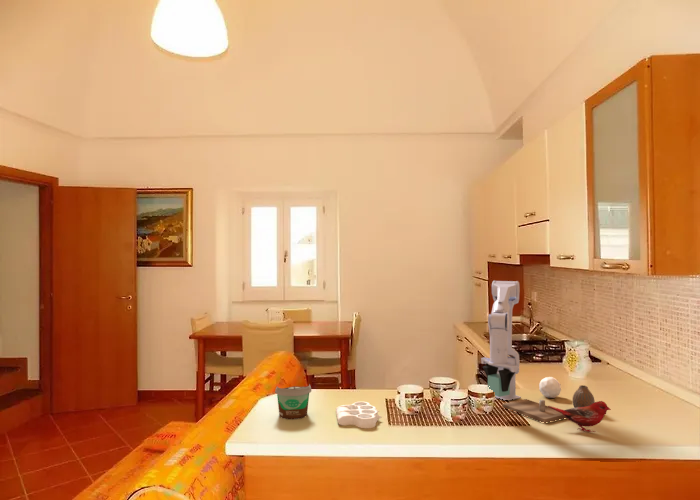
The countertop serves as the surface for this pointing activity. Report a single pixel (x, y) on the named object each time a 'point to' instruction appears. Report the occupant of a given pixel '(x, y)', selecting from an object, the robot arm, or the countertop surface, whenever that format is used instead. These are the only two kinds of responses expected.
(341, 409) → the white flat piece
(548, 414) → the walnut base plate
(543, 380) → the geometric ball
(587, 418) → the decorative bird figurine
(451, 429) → the countertop surface
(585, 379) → the countertop surface
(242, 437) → the countertop surface
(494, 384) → the matte teal cube
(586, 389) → the vase
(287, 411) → the food container
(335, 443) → the countertop surface
